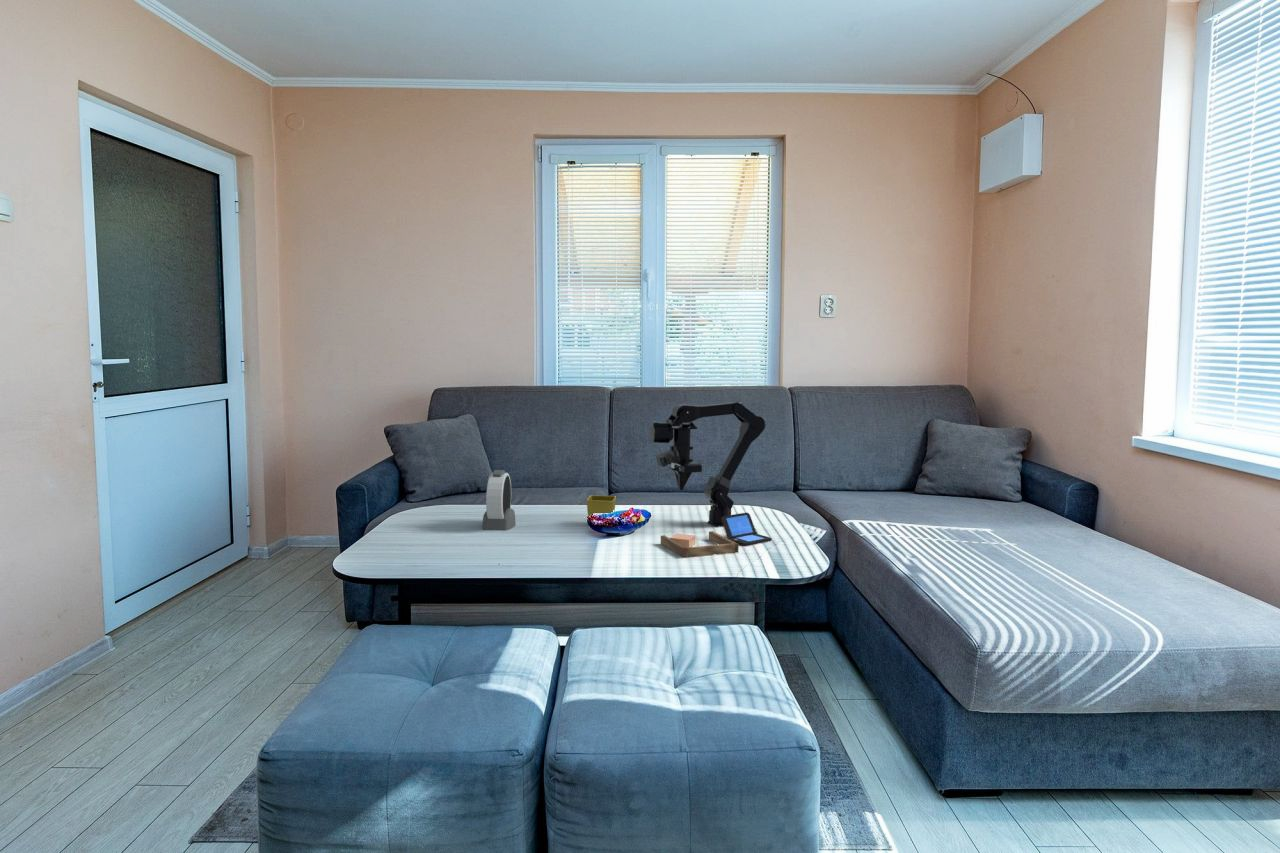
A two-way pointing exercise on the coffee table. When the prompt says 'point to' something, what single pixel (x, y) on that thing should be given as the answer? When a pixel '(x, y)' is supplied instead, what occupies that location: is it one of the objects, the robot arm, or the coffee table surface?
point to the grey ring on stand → (498, 503)
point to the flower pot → (600, 504)
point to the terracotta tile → (684, 539)
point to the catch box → (722, 548)
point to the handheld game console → (742, 530)
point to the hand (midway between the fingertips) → (680, 490)
